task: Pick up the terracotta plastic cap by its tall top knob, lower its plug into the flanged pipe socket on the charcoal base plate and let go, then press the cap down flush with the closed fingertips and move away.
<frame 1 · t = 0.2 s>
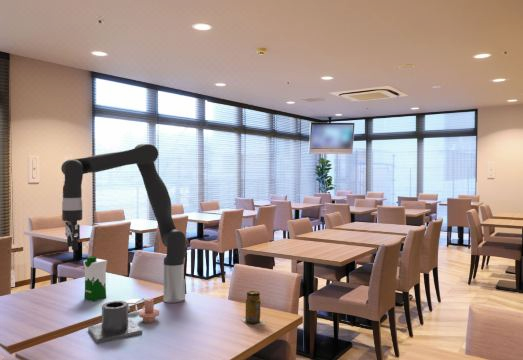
hand: (72, 248, 173), 29 cm above the table, tool pointing down, fingers open, 8 cm apart
condiment: (253, 322, 172), on the table
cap: (149, 320, 172), on the table
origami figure: (135, 312, 183), on the table
milk carton: (95, 298, 200), on the table
flanged pipe socket: (114, 332, 159), on the table
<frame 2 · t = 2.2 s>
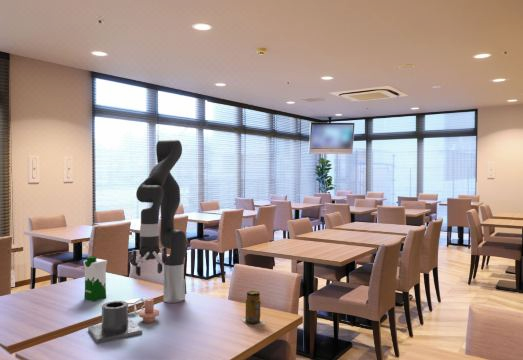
hand: (149, 274, 171), 19 cm above the table, tool pointing down, fingers open, 8 cm apart
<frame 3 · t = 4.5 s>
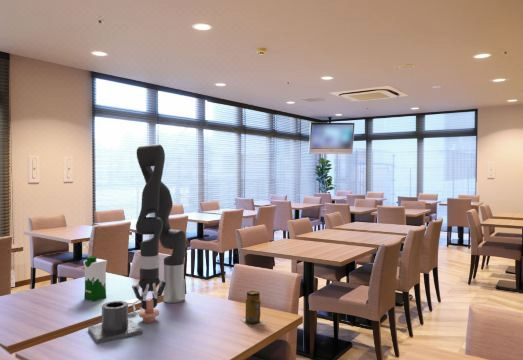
hand: (149, 308, 172), 5 cm above the table, tool pointing down, fingers closed on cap, 3 cm apart
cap: (149, 320, 172), on the table, touching gripper
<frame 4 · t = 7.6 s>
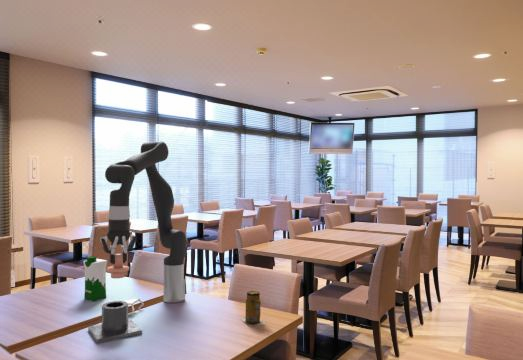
hand: (118, 263, 159), 26 cm above the table, tool pointing down, fingers closed on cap, 3 cm apart
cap: (117, 276, 160), point 21 cm above the table, touching gripper
when the fingers open (15 cm above the table, at t = 10.8 s): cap drops 1 cm, resting on flanged pipe socket.
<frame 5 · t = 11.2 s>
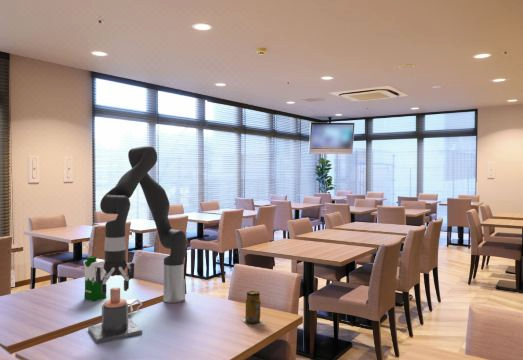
hand: (115, 292, 159), 15 cm above the table, tool pointing down, fingers open, 7 cm apart
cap: (115, 311, 159), point 8 cm above the table, touching flanged pipe socket
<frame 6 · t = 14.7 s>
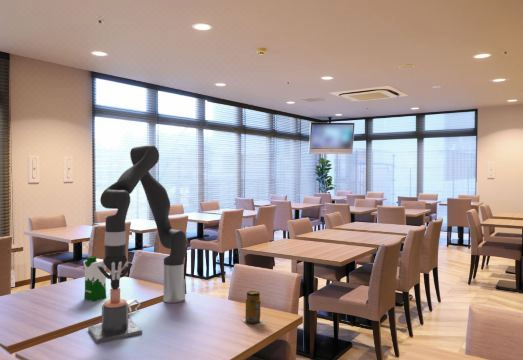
hand: (115, 289, 159), 16 cm above the table, tool pointing down, fingers closed
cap: (115, 311, 159), point 8 cm above the table, touching gripper, flanged pipe socket
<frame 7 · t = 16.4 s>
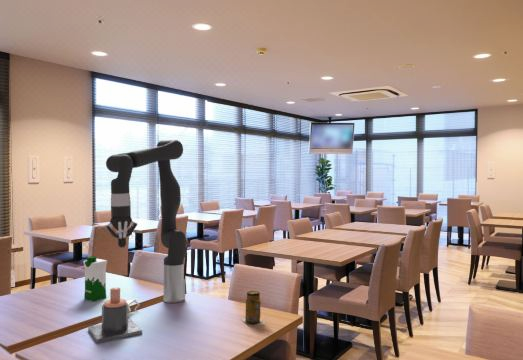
hand: (121, 247, 171), 30 cm above the table, tool pointing down, fingers closed
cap: (115, 311, 159), point 8 cm above the table, touching flanged pipe socket
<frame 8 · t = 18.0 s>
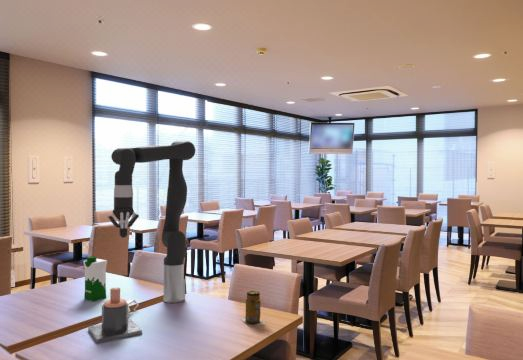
hand: (123, 237, 177), 33 cm above the table, tool pointing down, fingers closed
at the end: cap 0.1 cm from the target spot, point 8.0 cm above the table; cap tilted 0°; the gripper is holding nothing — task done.
